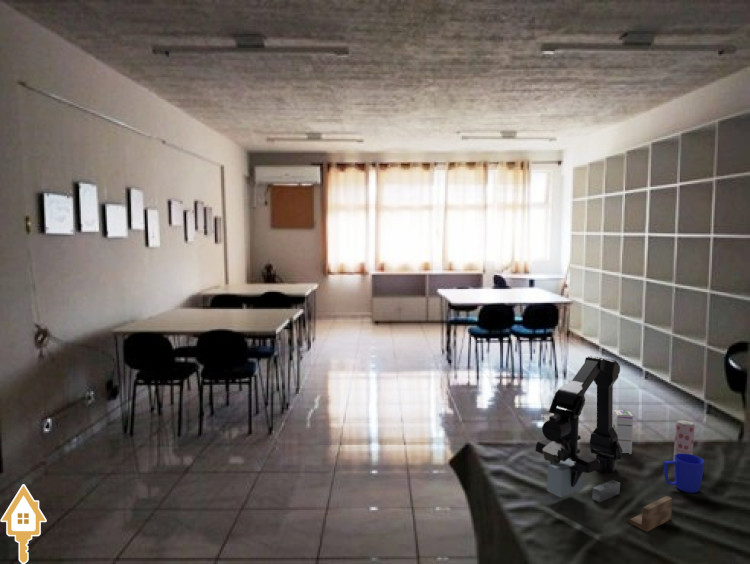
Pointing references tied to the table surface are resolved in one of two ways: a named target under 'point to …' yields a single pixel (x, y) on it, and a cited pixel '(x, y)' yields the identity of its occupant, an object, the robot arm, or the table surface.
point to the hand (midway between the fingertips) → (565, 483)
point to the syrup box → (624, 429)
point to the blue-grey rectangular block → (562, 479)
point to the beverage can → (684, 437)
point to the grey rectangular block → (606, 491)
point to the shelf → (653, 514)
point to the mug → (686, 472)
